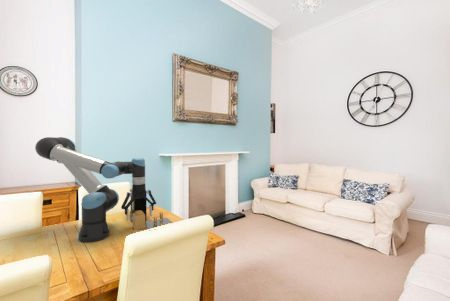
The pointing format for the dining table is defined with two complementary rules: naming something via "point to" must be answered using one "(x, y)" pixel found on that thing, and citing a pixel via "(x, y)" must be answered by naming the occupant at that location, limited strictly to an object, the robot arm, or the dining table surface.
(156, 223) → the amber glass cylinder
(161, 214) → the brass rounded peg
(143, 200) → the electrical component
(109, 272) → the dining table surface
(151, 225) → the plate
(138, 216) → the cube with dome knob
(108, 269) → the dining table surface
